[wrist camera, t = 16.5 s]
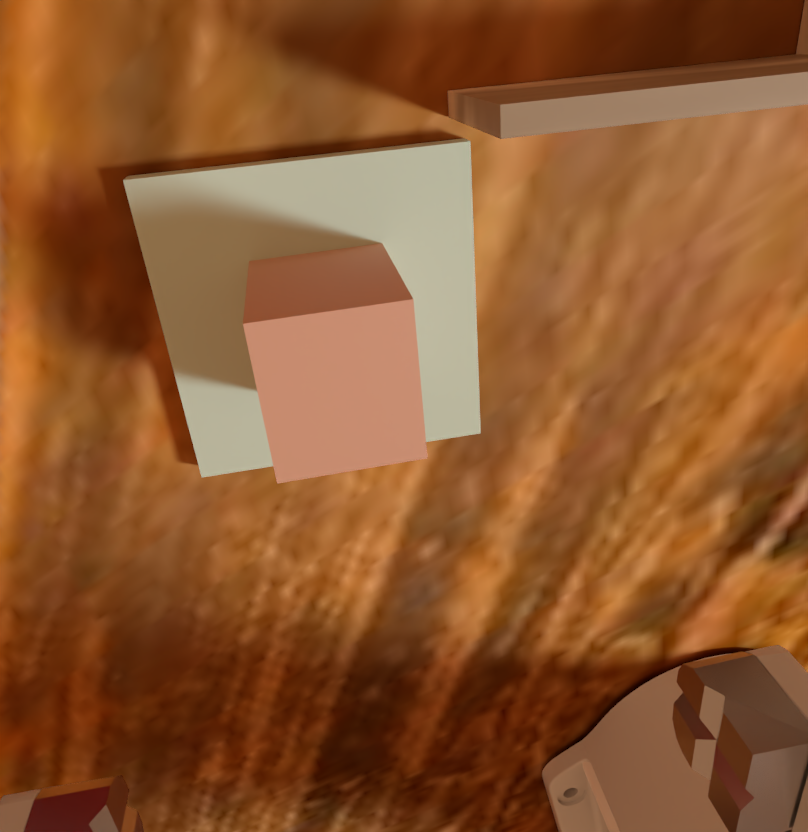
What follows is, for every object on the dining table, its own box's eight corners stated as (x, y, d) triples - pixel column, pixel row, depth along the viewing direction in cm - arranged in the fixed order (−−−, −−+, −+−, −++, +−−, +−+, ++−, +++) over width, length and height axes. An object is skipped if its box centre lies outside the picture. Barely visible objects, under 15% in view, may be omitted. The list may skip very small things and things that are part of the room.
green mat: (475, 423, 29) (480, 433, 28) (203, 466, 28) (201, 477, 27) (464, 138, 23) (470, 141, 23) (127, 175, 22) (122, 180, 22)
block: (396, 375, 26) (427, 458, 21) (275, 394, 26) (276, 483, 21) (382, 242, 24) (413, 299, 19) (249, 261, 23) (242, 324, 18)
